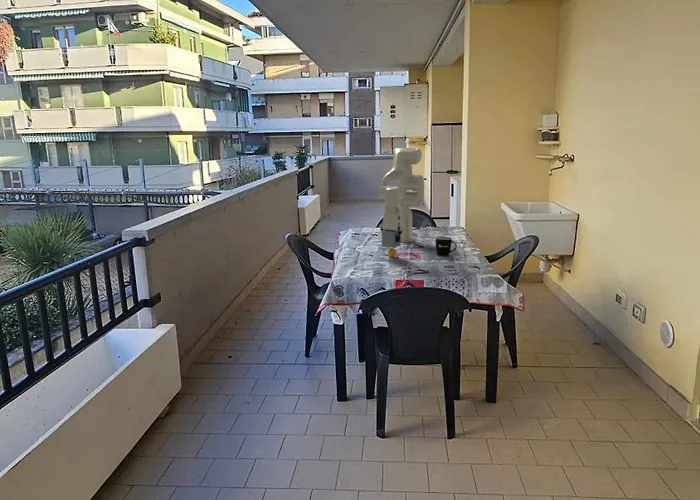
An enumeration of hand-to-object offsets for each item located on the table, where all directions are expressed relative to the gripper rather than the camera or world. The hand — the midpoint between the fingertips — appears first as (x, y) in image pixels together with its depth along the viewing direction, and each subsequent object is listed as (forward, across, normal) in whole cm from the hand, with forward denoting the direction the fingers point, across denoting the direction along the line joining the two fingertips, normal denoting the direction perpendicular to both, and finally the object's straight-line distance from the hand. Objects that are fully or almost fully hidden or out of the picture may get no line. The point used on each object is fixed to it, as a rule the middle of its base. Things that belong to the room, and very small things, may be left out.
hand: (391, 240), depth 282 cm
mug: (+10, -23, -22) cm, 33 cm away
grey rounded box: (+3, 0, 0) cm, 3 cm away
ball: (+7, 0, -1) cm, 7 cm away
